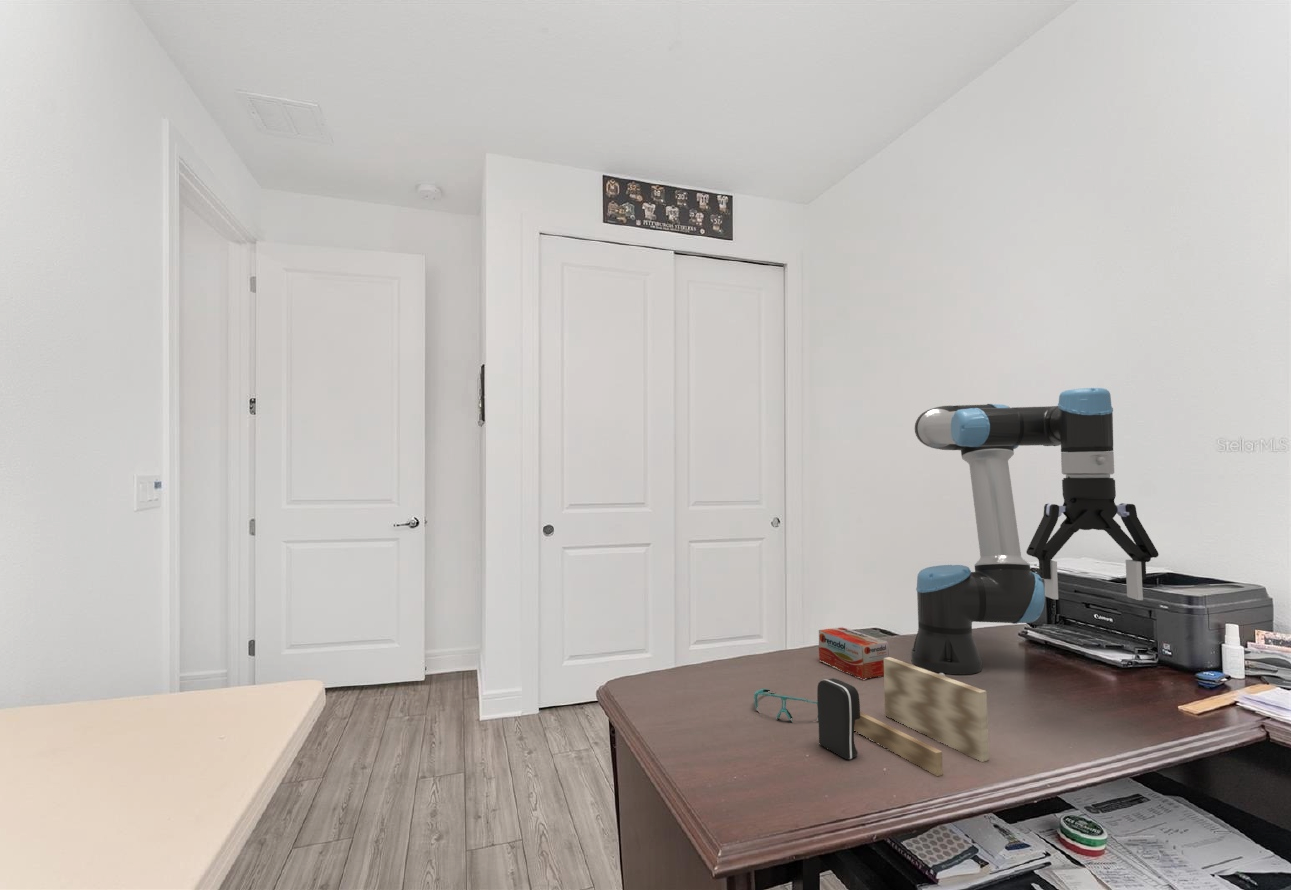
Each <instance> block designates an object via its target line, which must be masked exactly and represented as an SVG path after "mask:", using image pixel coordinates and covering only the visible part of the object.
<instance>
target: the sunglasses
mask: <svg viewBox="0 0 1291 890" xmlns="http://www.w3.org/2000/svg"><path fill="white" fill-rule="evenodd" d="M770 690H771V689H769V688H761V689H759V690H757V691H755V692H754V696H753V697H754V706H755V709H756V708H757V707H758V696H766V697H767V696H768V697H774V698H780V699H781V708H780V710H779V712H778V713H777V715H776V717H777V718H779V719H780V717H781V715H782V714H781V713H785V715H786V716H787V718H788V720H789V719H791V718H792V719H793V716H792V713H791V712H790V711H789V710H788V709H787V700H792V701H793V700H794V701H798V702H806V703H812V704H816V705H817V706H816V707H817V709H818V704H817V701H811V700H808V698H807V699H805V698H801V697H800V698H798V697H793V696H792V697H791V696H786V695H780V694H775V693H773V694H771V693H766V692H768V691H770ZM758 708H759V707H758ZM817 718H818V715H817V717H816V719H817Z"/></svg>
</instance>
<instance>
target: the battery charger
mask: <svg viewBox="0 0 1291 890" xmlns="http://www.w3.org/2000/svg"><path fill="white" fill-rule="evenodd" d="M816 689H817V690H816V692H817V693H816V694H817V695H816V696H817V700H816V702H817V704H818V708H817V716H818V722H817V723H818V744H819V743H820V744H821V745H820V744H819V745H820V746H822V745H823V746H824V747H823V746H822V747H823V748H825V747H826V748H828V749H830V750H831V751H833V752H834V753H833V752H832V753H833V754H835V753H836V754H835V755H837V754H838V755H837V756H839V755H840V756H839V757H841V758H843V759H845V760H852V759H853V758H855V757H857V755H858V750H857V747H856V745H855V732H854V725H855V720H857V719H859V718H860V712H861V705H860V704H861V703H860V695H859V692H858V689H857V688H856V687H855V686H853V685H851V684H849V683H847V682H845V681H842V680H840V679H837V678H829V679H828V678H827V679H822V680H820V681H819V682H818V684H817V688H816ZM817 704H816V705H817ZM826 748H825V749H826ZM828 749H827V750H828ZM830 750H829V751H830ZM831 751H830V752H831Z"/></svg>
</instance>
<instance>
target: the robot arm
mask: <svg viewBox="0 0 1291 890" xmlns="http://www.w3.org/2000/svg"><path fill="white" fill-rule="evenodd" d="M1111 398H1112V397H1111V392H1110V391H1109V390H1108V389H1106V388H1103V387H1087V388H1086V387H1085V388H1074V389H1073V388H1072V389H1067V390H1063V391H1062V392H1060V393H1059V396H1058V403H1057V405H1055V406H1054V405H1051V406H1021V407H1019V406H1018V407H1010V406H1009V405H1005V404H993V403H987V404H962V405H960V404H958V405H942V406H936V407H933V408H932V407H931V408H930V409H927V410H925V411H924V412H922V413H921V414H920V415H918V417H917V419H915V423H914V433H915V437H916V438H917V440H918V441H919V442H920V443H921V444H923V445H924V446H926V447H928V448H932V449H935V450H944V451H960V454H961V459H962V460H963V461H965V462H966V463H967V464H968V465H969V474H970V480H971V488H972V489H971V490H972V497H973V506H974V507H973V508H974V513H975V521H976V522H975V524H976V529H977V530H976V531H977V532H976V533H977V539H978V541H977V542H978V546H979V547H978V548H979V559H978V560H977V561H976V563H974V571H972V570H971V568H970V567H969V566H968V565H967V566H966V565H963V564H962V565H961V564H941V565H934V566H929V567H925V568H922V569H921V570H919V572H918V574H917V575H916V576H917V578H916V589H915V591H916V594H917V623H918V624H917V625H918V626H917V628H918V629H917V633H916V636H915V639H914V642H913V646H912V649H911V654H910V656H911V662H912V664H913V665H914V666H917V667H919V668H922V669H925V670H928V671H931V672H934V673H943V674H946V675H947V674H948V675H971V674H977V673H979V672H981V671H982V669H983V668H982V667H983V666H982V657H981V655H980V653H979V650H978V647H977V644H976V641H975V639H974V636H973V622H975V623H976V622H977V623H996V624H997V623H1002V624H1004V623H1005V624H1012V625H1013V624H1019V623H1020V624H1031V623H1033V622H1036V621H1038V619H1039V618H1040V617H1041V615H1042V612H1043V610H1044V607H1045V601H1046V598H1049V599H1052V600H1059V584H1058V583H1059V580H1058V562H1057V561H1056V560H1052V559H1054V557H1055V556H1056V555H1057V553H1058V552H1060V550H1061V549H1062V548H1063V546H1065V544H1067V542H1068V541H1069V540H1070V539H1071V538H1072V536H1073V535H1074V534H1075V533H1077V532H1079V531H1080V530H1083V531H1090V530H1096V531H1104V532H1106V534H1108V535H1109V536H1110V537H1111V539H1113V541H1114V542H1115V543H1116V544H1117V545H1118V546H1119V547H1120V548H1121V549H1122V550H1123V551H1124V552H1125V553H1126V555H1128V556H1129V557H1130V558H1131V559H1125V574H1126V575H1125V580H1126V596H1127V598H1130V599H1133V600H1136V601H1144V593H1143V581H1145V580H1146V579H1147V565H1146V564H1147V563H1149V562H1150V561H1151V559H1152V558H1154V559H1155V558H1158V557H1159V555H1160V554H1159V552H1158V550H1157V548H1156V547H1155V545H1154V543H1153V541H1152V539H1151V537H1150V536H1149V534H1148V532H1147V531H1146V529H1145V528H1144V526H1143V524H1142V522H1141V521H1140V519H1139V517H1138V513H1137V507H1136V505H1135V504H1133V503H1122V502H1121V503H1120V504H1116V502H1115V499H1116V495H1117V493H1116V490H1117V489H1116V479H1114V477H1111V475H1113V474H1115V458H1114V456H1115V455H1114V421H1113V419H1114V415H1113V413H1114V408H1113V406H1112V399H1111ZM1019 446H1025V447H1026V446H1044V447H1059V446H1060V452H1061V453H1060V454H1061V455H1060V456H1061V457H1060V458H1061V459H1060V463H1061V474H1062V475H1065V477H1063V479H1062V480H1061V484H1062V486H1061V487H1062V488H1061V489H1062V498H1063V504H1062V505H1058V504H1053V503H1046V504H1044V506H1043V516H1042V518H1041V520H1040V522H1039V524H1038V526H1037V529H1036V531H1035V533H1034V535H1033V537H1032V539H1031V541H1030V542H1029V545H1028V546H1027V549H1026V551H1025V552H1026V554H1027V555H1028V556H1031V557H1033V558H1036V559H1037V560H1038V571H1039V573H1035V572H1033V571H1032V570H1031V565H1030V564H1031V563H1029V562H1028V561H1027V560H1025V559H1024V558H1023V557H1022V552H1021V546H1020V539H1019V538H1020V537H1019V532H1018V525H1017V515H1016V509H1015V502H1014V496H1013V495H1014V494H1013V489H1012V480H1011V474H1010V467H1009V466H1010V465H1009V460H1010V459H1011V458H1012V457H1013V456H1014V454H1015V451H1014V450H1016V449H1017V448H1018V447H1019ZM1062 515H1064V516H1065V519H1064V520H1063V521H1062V522H1061V524H1060V526H1059V528H1058V529H1057V530H1056V532H1055V533H1054V534H1053V531H1054V529H1055V527H1056V525H1057V523H1058V519H1059V518H1060V517H1061V516H1062ZM1116 515H1118V516H1119V517H1120V518H1121V521H1122V522H1123V524H1124V526H1125V527H1126V530H1127V531H1128V533H1129V535H1130V536H1131V538H1130V536H1129V535H1128V534H1127V533H1126V532H1125V531H1124V530H1123V529H1122V526H1121V525H1120V524H1119V523H1118V522H1117V521H1116V520H1115V519H1114V518H1115V516H1116ZM1052 534H1053V535H1052ZM1051 535H1052V536H1051ZM1050 537H1051V538H1050ZM1132 539H1133V540H1132ZM1043 579H1044V581H1043Z"/></svg>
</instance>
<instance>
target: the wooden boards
mask: <svg viewBox="0 0 1291 890" xmlns="http://www.w3.org/2000/svg"><path fill="white" fill-rule="evenodd" d="M883 681H884V682H883V683H884V686H883V688H884V689H883V690H884V716H887V717H889V718H892V719H894V720H896V721H897V722H896V721H895V722H896V723H898V722H899V723H898V724H900V723H902V724H904V725H906V726H908V727H907V728H909V727H910V728H909V729H911V728H913V729H914V730H913V729H912V730H913V731H915V730H917V731H918V732H917V731H916V732H917V733H919V734H921V733H923V734H925V735H927V736H926V737H928V738H930V739H932V738H933V739H932V740H934V739H935V740H934V741H936V740H937V741H936V742H939V743H940V742H941V743H940V744H942V743H944V744H943V745H945V744H946V745H945V746H947V745H948V746H947V747H949V748H951V749H953V748H954V749H953V750H955V749H956V750H955V751H957V750H958V751H957V752H960V753H961V754H964V755H966V756H968V757H970V758H972V759H975V760H976V759H977V761H978V760H979V761H978V762H981V763H984V762H987V761H989V759H990V756H989V755H990V754H989V753H990V751H989V731H988V730H989V727H988V699H987V696H988V695H987V690H984V689H981V688H978V687H976V686H973V685H970V684H967V683H965V682H962V681H959V680H956V679H953V678H950V677H947V676H946V675H945V676H942V675H939V673H937V672H935V671H930V670H927V669H924V668H921V667H919V666H917V665H915V664H911V663H907V662H905V661H902V660H900V659H896V658H893V657H890V656H889V657H887V658H884V676H883ZM887 717H886V718H887ZM889 718H888V719H889ZM892 719H891V720H892ZM894 720H893V721H894ZM902 724H901V725H902ZM904 725H903V726H904ZM906 726H905V727H906ZM854 730H855V731H856V732H858V733H860V734H862V735H864V736H865V737H867V738H870V739H871V740H873V741H874V742H876V743H879V744H880V745H882V746H884V747H885V748H888V749H889V750H891V751H892V752H891V751H890V752H891V753H893V752H894V753H893V754H895V755H896V754H898V755H900V756H901V758H902V757H903V758H902V759H904V758H905V759H904V760H906V759H907V760H906V761H908V760H909V761H908V762H910V763H911V762H912V764H914V765H915V764H916V765H915V766H917V765H918V766H917V767H919V766H920V767H919V768H921V767H922V768H921V769H923V770H925V769H926V770H928V771H929V773H930V774H932V775H934V776H936V777H940V776H942V774H944V768H943V767H944V766H943V751H942V750H940V749H938V748H936V747H934V746H931V745H929V744H928V743H925V742H923V741H921V740H920V739H917V738H916V737H913V736H911V735H909V734H907V733H905V732H902V731H901V730H899V729H897V728H895V727H893V726H890V725H888V724H886V723H884V722H882V721H880V720H878V719H876V718H874V717H872V716H870V715H868V714H866V713H864V712H861V711H860V718H859V719H857V720H855V725H854ZM923 734H922V735H923ZM925 735H924V736H925ZM865 737H864V738H865ZM867 738H866V739H867ZM874 742H873V743H874ZM876 743H875V744H876ZM880 745H879V746H880ZM882 746H881V747H882ZM885 748H884V749H885ZM889 750H888V751H889ZM898 755H897V756H898ZM900 756H899V757H900ZM926 770H925V771H926ZM928 771H927V772H928Z"/></svg>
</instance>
